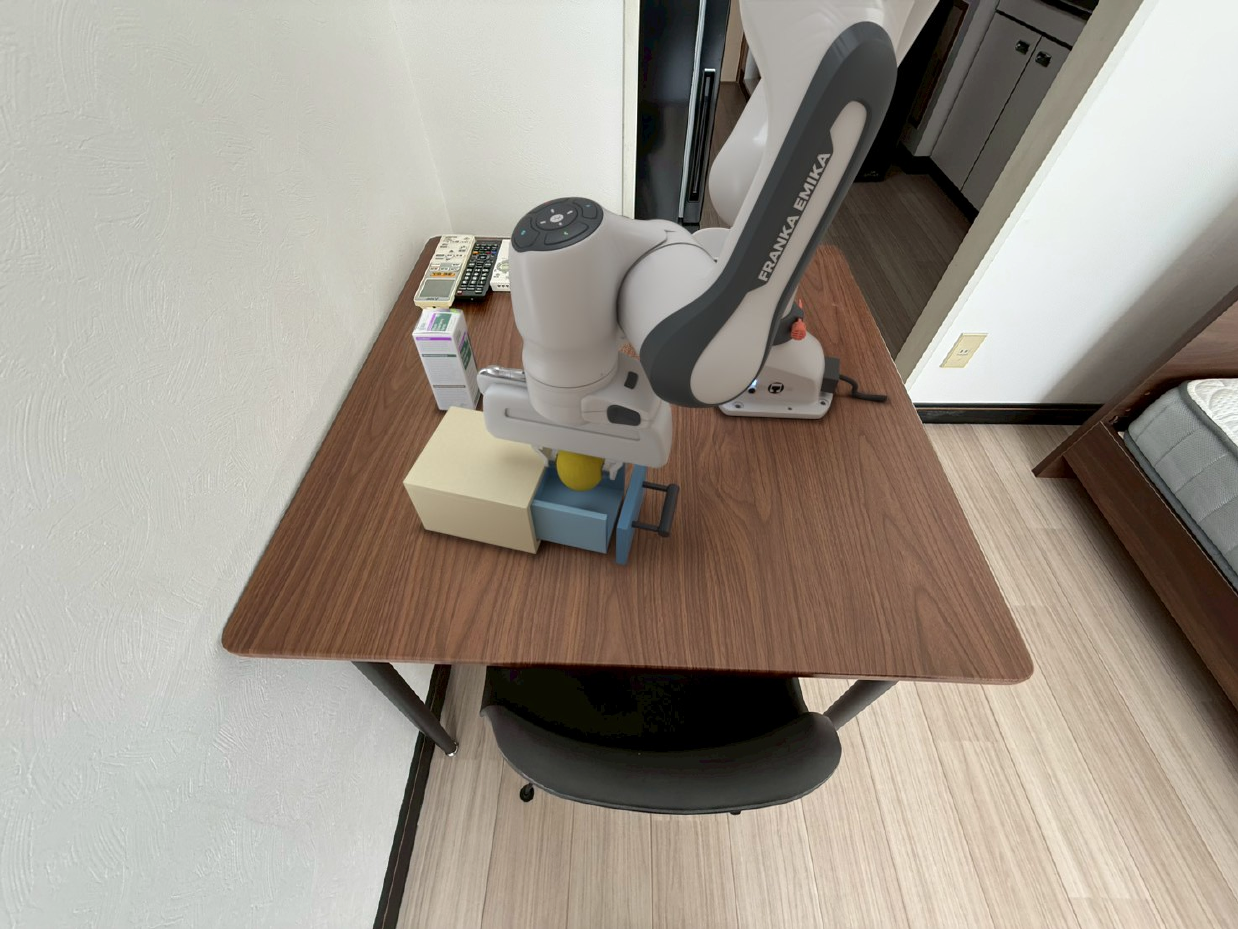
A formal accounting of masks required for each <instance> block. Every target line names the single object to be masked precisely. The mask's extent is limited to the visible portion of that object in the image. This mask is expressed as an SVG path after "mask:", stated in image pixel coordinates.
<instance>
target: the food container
mask: <svg viewBox="0 0 1238 929" xmlns="http://www.w3.org/2000/svg"><path fill="white" fill-rule="evenodd" d="M729 230H730V228H726V227H706V228H702V229H699V230H697V231H695V232H693V233H691V234H692V235H693V237H694V238H695V239H696V240H697V241H698V242H699V243H700V244H701V245H702V246H703V247H704V248H705V249H706V251H707V252H708V253H709V254H710V255H711V257H712V258H713V260H714V261H715V262H716V263H717V260H718V258H719V256H720V254H721V251H722V248H723V244H724V241H725V238H726V236H727V234H728V232H729Z"/></svg>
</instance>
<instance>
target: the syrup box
mask: <svg viewBox="0 0 1238 929" xmlns="http://www.w3.org/2000/svg"><path fill="white" fill-rule="evenodd" d="M411 335H412V338H413V341H414V343H415V344H414V345H415V347H416V349H417V352H418V355H419V358H420V360H421V363H422V367H423V369H424V372H425V375H426V378H427V380H428V382H429V385H430V388H431V391H432V393H433V394H432V395H433V397H434V399H435V402H436V404H437V405H436V406H437V408H438V409H439V410H440V411H448V410H449V408H450V407H451V406H455V407H460V408H465V409H471V410H476V411H477V406H478V404H479V400H480V397H481V394H482V393H481V392H480V390H479V386H478V383H477V373H478V371H479V368H478V364H477V360H476V356H475V353H474V352H475V351H474V348H473V345H472V341H471V337H470V333H469V330H468V325H467V322H466V318H465V314H464V311H463V310H462V309H459V308H447V307H443V308H442V307H440V308H439V307H438V308H437V307H435V308H423V309H422V311H421V314H420V316H419V319H418V320H417V321H416V324H415V326H414V328H413V331H412V333H411Z"/></svg>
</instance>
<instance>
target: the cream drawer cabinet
mask: <svg viewBox="0 0 1238 929" xmlns="http://www.w3.org/2000/svg"><path fill="white" fill-rule="evenodd" d="M436 427H437V428H436V429H435V431H433V434H432V435H431V437H430V439H429V440H428V442H426V445H425V446H424V448H423V449H422V450H421V451H422V452H421V453H420V454H419V456H418V457H417V458H416V461H415V462H414V464H413V466H411V468H410V470H409V472H408V473H407V474H406V476H405V478H404V479H403V481H402V484H403V486H404V488H405V490H406V492H407V494H408V496H409V498H410V500H411V503H412V505H413V506H414V509H415V511H416V514H417V515H418V517H419V520H420V521H421V523H422V525H423V528H424V529H425V530H427V531H431V532H435V533H440V534H445V535H450V536H454V537H458V538H462V539H467V540H471V541H477V542H481V543H486V544H490V545H494V546H499V547H503V548H508V549H511V550H516V551H521V552H526V553H530V554H534V555H536V554H537V552H538V549H539V546H540V545H541V541H542V540H541V539H537V538H536V535H535V530H534V525H533V520H532V515H531V510H530V505H531V503H532V501H533V498H534V496H535V494H536V491H537V489H538V486H539V484H540V482H541V479H542V477H543V475H544V472H545V470H546V468H547V467H545V466H544V460H543V458H541V457H540V456H539V455H538V454H537V453H536V452H535V451H534V450H533V449H532V447H531V445H530V444H525V443H520V442H514V441H509V440H504V439H498V438H495V437H494V436H492V435H491V434H490V433H489V432H488V431H487V429H486V426H485V420H484V413H483V411H481V410H477V409H476V410H471V409H465V408H460V407H455V406H451V407H450V408H449V410H446V413H445V415H444V416H443V417H442V419H441V420H440V422H439V424H438V426H436Z"/></svg>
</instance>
